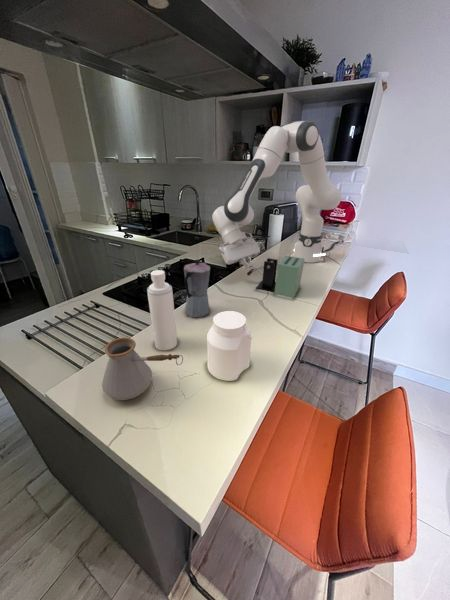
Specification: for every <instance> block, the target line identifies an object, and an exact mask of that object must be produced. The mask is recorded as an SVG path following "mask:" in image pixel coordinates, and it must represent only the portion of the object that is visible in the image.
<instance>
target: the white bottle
mask: <svg viewBox="0 0 450 600" xmlns="http://www.w3.org/2000/svg"><path fill="white" fill-rule="evenodd" d="M150 278H151V282H152V283H151V284H150V285H149V286H148V287H147V288H146V293H147V301H148V308H149V313H150V314H149V315H150V319H151V326H152V327H151V328H152V333H153V334H152V335H153V340H154V341H153V342H154V346H155V347H156V349H157V350H159V351H170V350H172V349H175V348H176V347H177V345H178V334H177V323H176V312H175V303H174V293H173V286H172V285H171V284H169V283H168V282H166V281H165V280H166V272H165V270H162V269H156V270H155V269H154V270H153V271H151V272H150Z"/></svg>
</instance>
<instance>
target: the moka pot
mask: <svg viewBox="0 0 450 600" xmlns="http://www.w3.org/2000/svg"><path fill="white" fill-rule="evenodd" d="M183 273H184V274H183V275H184V280H183V281H184V287H185V290H186V300H185V306H184V307H185V308H184V312H185V314H186V315H187V316H189V317H191V318H201V317H205V316H207V315H208V314H209V313H210V302H209V295H208V290H209V282H210V275H211V266H210V265H208V264H207V263H206V262H200V259H195V260H194V262H193V263H188V264H185V265H184V266H183Z"/></svg>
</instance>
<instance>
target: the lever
mask: <svg viewBox="0 0 450 600" xmlns="http://www.w3.org/2000/svg"><path fill="white" fill-rule="evenodd" d="M270 262H274V261H270ZM261 270H264V265H262V266H259V267H257V268H251V269H250V270H249V271H248V272H247V273H246V275H247V276H250V275H252V274H254V273H256V272H260V271H261Z"/></svg>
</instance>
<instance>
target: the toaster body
mask: <svg viewBox="0 0 450 600" xmlns="http://www.w3.org/2000/svg"><path fill="white" fill-rule="evenodd" d="M304 264H305V262H304V258H298V257H292V256H290V255H284V256H283V258H282V259H281V260H280V261H279V262H278V263H277V271H276V279H275V282H276V285H275V292H274V295H277V296H283V297H286V298H292V299H294V298H295V296H296V294H297V293H298V291H299V289H300V287H301V281H302V275H303V271H304Z"/></svg>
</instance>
